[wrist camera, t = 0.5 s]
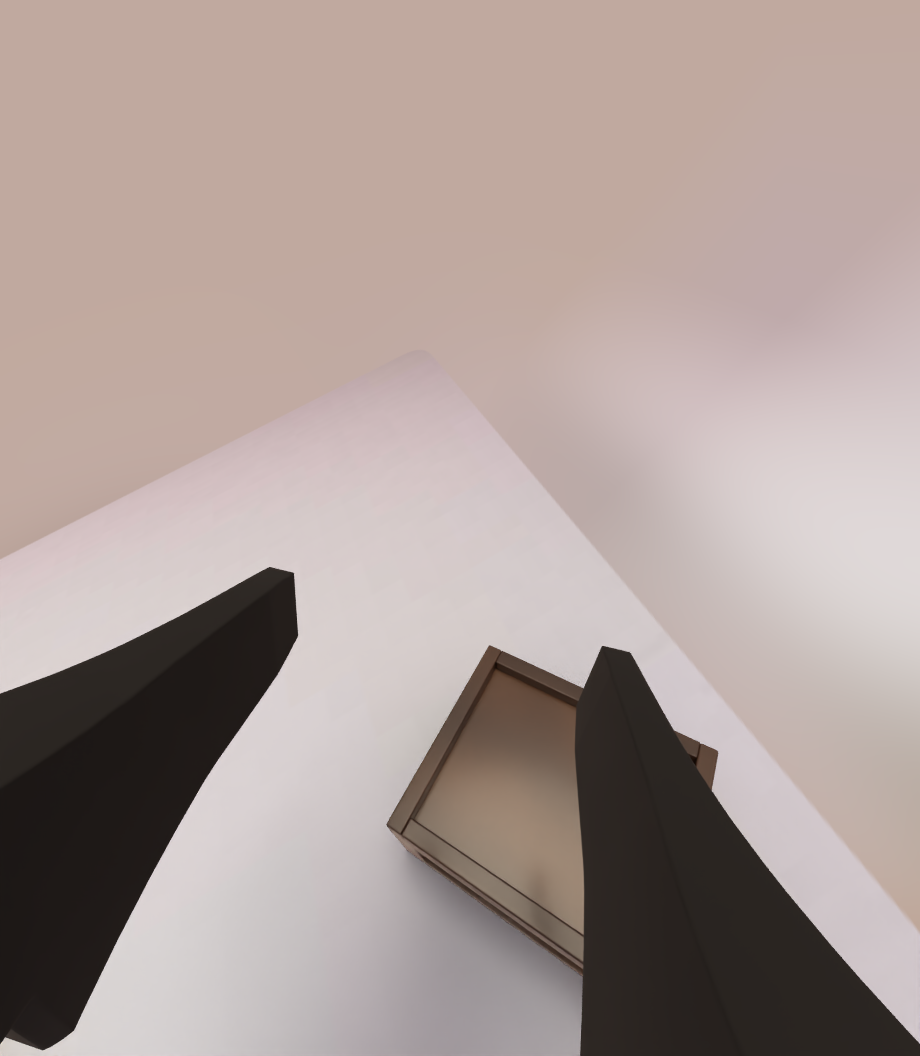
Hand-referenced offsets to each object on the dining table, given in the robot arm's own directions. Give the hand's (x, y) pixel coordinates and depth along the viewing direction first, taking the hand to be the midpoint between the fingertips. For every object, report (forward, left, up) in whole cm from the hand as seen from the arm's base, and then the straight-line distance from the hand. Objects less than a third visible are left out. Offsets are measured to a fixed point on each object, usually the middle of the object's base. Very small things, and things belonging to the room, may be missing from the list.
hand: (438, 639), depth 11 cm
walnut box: (+2, -3, -20) cm, 20 cm away
